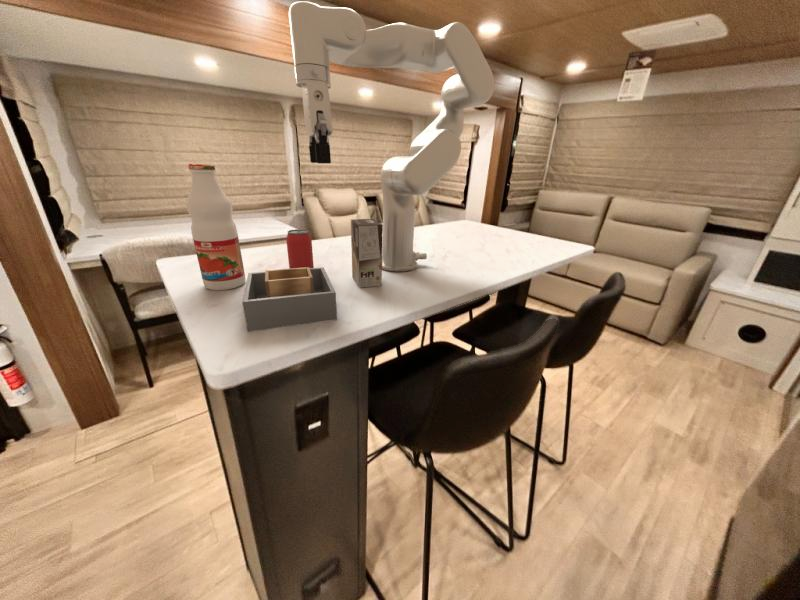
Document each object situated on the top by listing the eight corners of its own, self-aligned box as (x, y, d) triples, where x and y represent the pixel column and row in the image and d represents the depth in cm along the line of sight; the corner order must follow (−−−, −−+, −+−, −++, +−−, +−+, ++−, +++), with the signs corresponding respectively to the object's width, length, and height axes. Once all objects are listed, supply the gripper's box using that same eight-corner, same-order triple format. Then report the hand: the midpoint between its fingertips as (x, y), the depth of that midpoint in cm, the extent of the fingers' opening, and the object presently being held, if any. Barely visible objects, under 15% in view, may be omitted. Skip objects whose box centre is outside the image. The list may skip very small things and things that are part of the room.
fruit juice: (253, 279, 82) (234, 165, 71) (232, 292, 74) (207, 165, 62) (219, 276, 83) (195, 163, 72) (195, 289, 74) (163, 163, 63)
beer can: (310, 277, 85) (306, 234, 80) (286, 276, 85) (281, 233, 80) (316, 270, 91) (313, 229, 86) (294, 269, 91) (290, 228, 86)
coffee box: (382, 285, 82) (383, 224, 75) (359, 288, 79) (358, 225, 73) (372, 274, 89) (373, 218, 83) (351, 276, 87) (349, 218, 81)
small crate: (311, 296, 72) (308, 267, 69) (315, 308, 66) (312, 277, 63) (269, 300, 68) (265, 270, 66) (269, 313, 63) (265, 281, 60)
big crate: (325, 290, 77) (323, 267, 75) (337, 319, 63) (335, 292, 61) (252, 297, 72) (248, 272, 69) (247, 331, 57) (242, 301, 55)
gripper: (338, 71, 62) (343, 163, 70) (323, 87, 77) (328, 162, 84) (300, 67, 60) (309, 163, 67) (291, 84, 74) (300, 162, 81)
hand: (320, 163), depth 75 cm, fingers open, 9 cm apart
